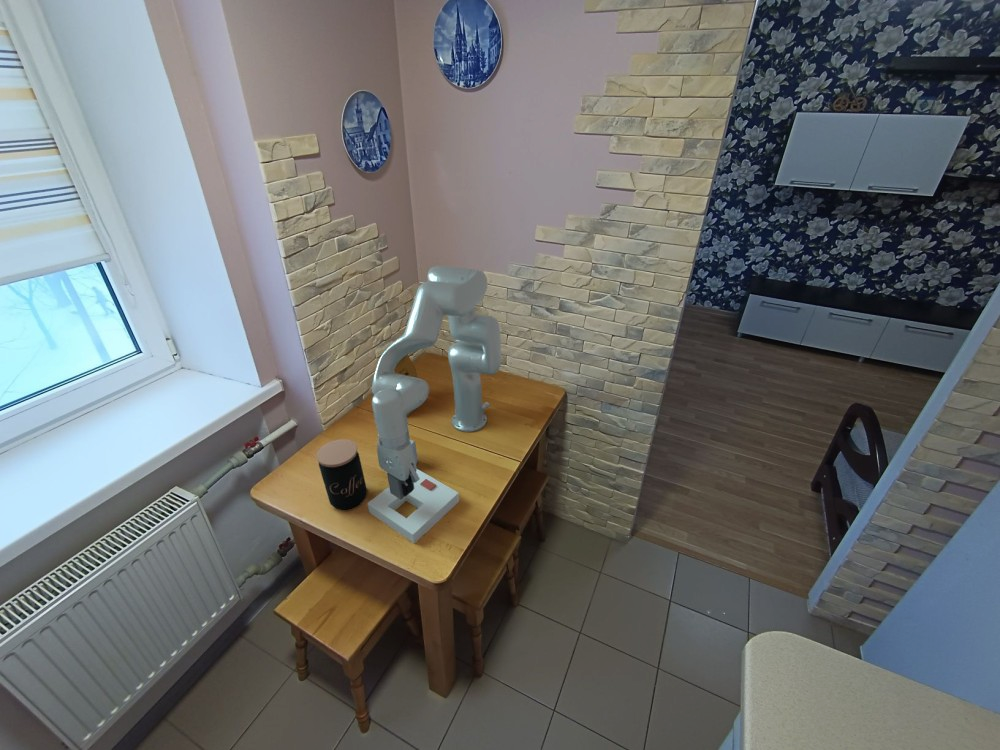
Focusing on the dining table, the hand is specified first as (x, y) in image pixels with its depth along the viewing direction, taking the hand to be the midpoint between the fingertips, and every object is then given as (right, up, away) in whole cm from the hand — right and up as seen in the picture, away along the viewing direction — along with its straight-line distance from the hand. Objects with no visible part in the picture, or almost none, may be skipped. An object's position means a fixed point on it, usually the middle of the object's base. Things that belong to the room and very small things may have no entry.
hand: (402, 488), depth 123 cm
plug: (0, -1, 0) cm, 1 cm away
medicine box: (-4, +2, +23) cm, 24 cm away
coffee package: (-10, +18, +49) cm, 53 cm away
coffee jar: (-18, -6, +11) cm, 22 cm away
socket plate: (+2, -7, +7) cm, 10 cm away
